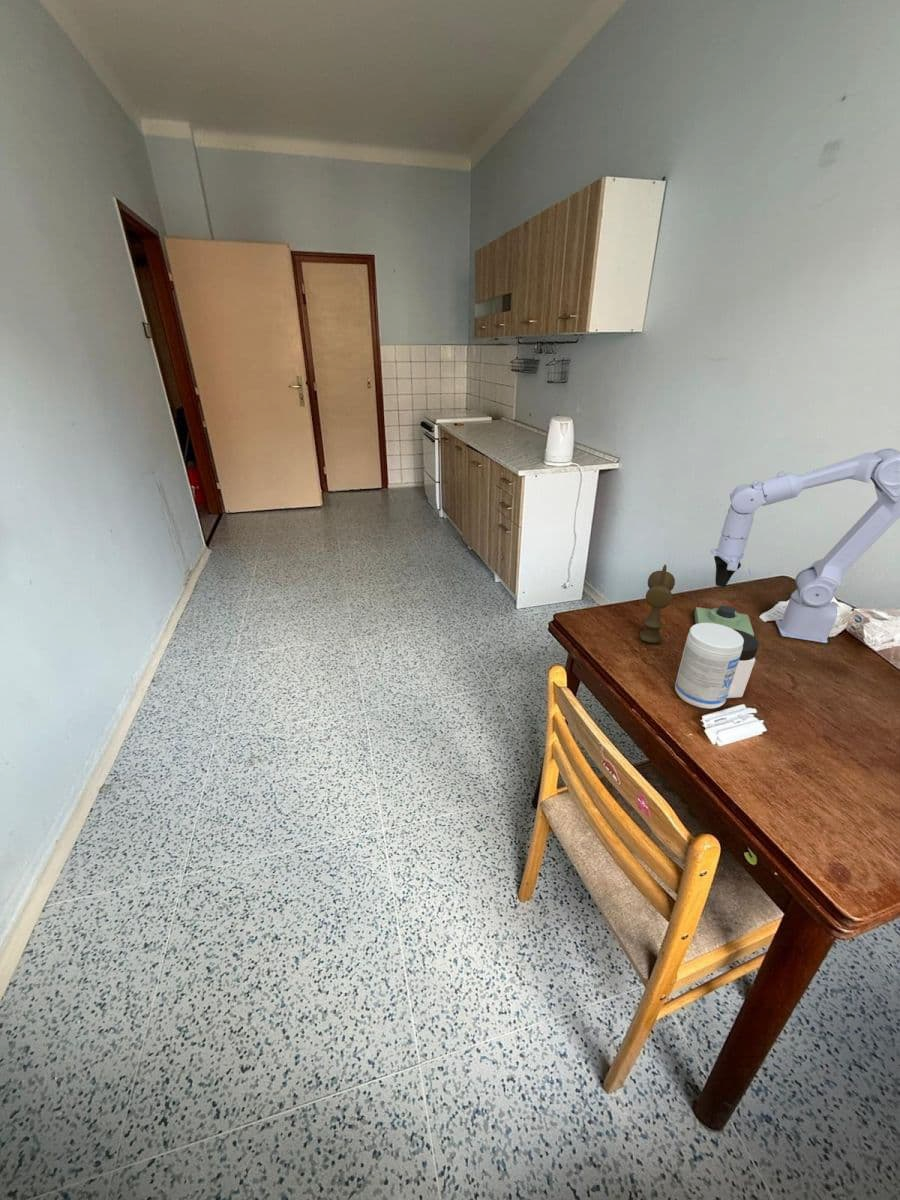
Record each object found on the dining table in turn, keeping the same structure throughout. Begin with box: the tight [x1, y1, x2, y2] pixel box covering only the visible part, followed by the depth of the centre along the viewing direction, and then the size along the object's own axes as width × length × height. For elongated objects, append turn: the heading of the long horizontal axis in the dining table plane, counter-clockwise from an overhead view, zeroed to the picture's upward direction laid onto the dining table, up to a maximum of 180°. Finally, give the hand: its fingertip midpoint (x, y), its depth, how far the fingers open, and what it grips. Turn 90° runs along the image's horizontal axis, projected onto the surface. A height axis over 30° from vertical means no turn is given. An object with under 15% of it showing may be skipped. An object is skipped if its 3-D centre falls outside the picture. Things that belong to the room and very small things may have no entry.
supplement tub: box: [674, 623, 744, 709], centre depth 93 cm, size 10×10×15 cm
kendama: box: [638, 564, 676, 644], centre depth 111 cm, size 6×10×20 cm, turn 155°
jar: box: [727, 629, 760, 699], centre depth 96 cm, size 9×8×12 cm
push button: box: [717, 605, 736, 618], centre depth 117 cm, size 4×4×2 cm
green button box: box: [694, 606, 755, 637], centre depth 119 cm, size 12×10×4 cm
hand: (720, 585), depth 121 cm, fingers closed
